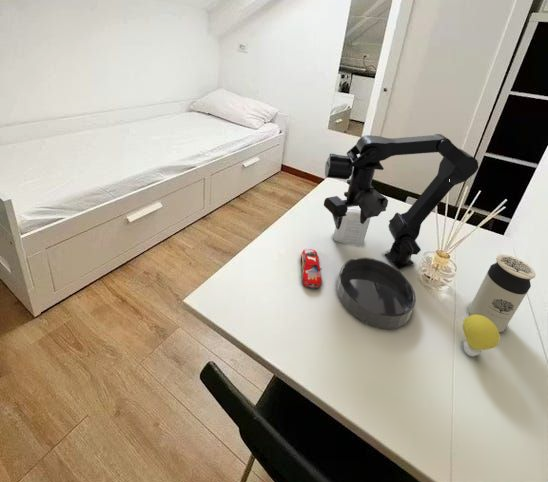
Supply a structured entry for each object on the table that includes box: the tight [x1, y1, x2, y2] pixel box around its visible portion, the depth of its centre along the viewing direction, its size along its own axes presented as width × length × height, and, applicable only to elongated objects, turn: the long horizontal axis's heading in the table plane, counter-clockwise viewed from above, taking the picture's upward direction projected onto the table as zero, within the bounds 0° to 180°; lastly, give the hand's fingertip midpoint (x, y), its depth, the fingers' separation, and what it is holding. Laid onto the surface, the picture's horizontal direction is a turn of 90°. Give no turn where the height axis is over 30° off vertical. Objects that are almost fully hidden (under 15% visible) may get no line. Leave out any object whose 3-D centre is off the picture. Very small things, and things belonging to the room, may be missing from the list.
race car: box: [300, 248, 323, 289], centre depth 83 cm, size 13×5×4 cm, turn 177°
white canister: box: [468, 254, 536, 333], centre depth 72 cm, size 8×8×18 cm
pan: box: [336, 257, 417, 330], centre depth 78 cm, size 19×19×4 cm
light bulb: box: [462, 314, 501, 357], centre depth 65 cm, size 7×7×10 cm
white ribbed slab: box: [332, 207, 371, 246], centre depth 97 cm, size 10×4×12 cm, turn 84°
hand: (349, 225), depth 88 cm, fingers open, 9 cm apart
